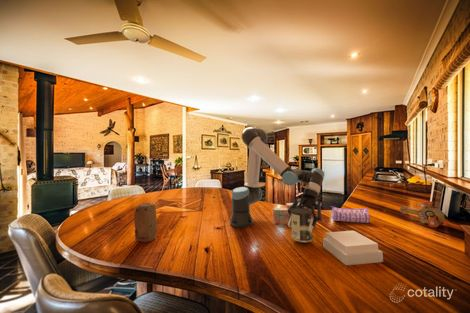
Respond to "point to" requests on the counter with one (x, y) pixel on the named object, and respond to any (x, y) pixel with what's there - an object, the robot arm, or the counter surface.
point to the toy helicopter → (426, 214)
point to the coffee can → (301, 224)
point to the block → (145, 222)
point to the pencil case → (350, 215)
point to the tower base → (353, 256)
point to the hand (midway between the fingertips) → (298, 228)
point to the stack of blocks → (282, 214)
